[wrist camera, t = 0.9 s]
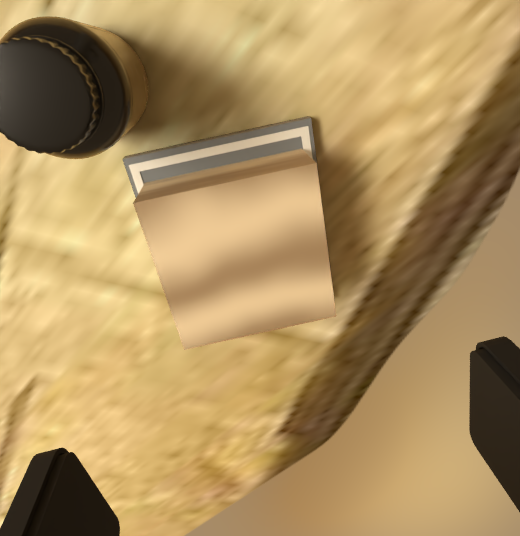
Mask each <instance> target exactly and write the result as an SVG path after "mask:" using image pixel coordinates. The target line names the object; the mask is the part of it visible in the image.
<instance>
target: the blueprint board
mask: <svg viewBox="0 0 520 536" xmlns="http://www.w3.org/2000/svg"><path fill="white" fill-rule="evenodd" d="M297 149H303V150H304V151H305V152H306V153H307V154H308V155H309V156H310V157H311V158H312V159H313V160H314V161H315V162H316V163H317V160H316V152H315V144H314V137H313V129H312V121H311V118H310V117H309V116H308V117H303V118H298V119H294V120H289V121H285V122H280V123H276V124H271V125H266V126H262V127H257V128H253V129H248V130H243V131H239V132H234V133H230V134H225V135H221V136H216V137H211V138H207V139H202V140H198V141H193V142H188V143H184V144H179V145H175V146H170V147H166V148H161V149H156V150H152V151H147V152H143V153H138V154H134V155H129V156H125V157H124V158H123V162H124V165H125V168H126V171H127V174H128V177H129V180H130V182H131V185H132V188H133V191H134V194H135V197H137V196H138V194H139V192H140V190H141V188H142V187H143V185H144V183H146V182H151V181H155V180H160V179H164V178H169V177H173V176H178V175H183V174H187V173H192V172H196V171H201V170H205V169H210V168H215V167H219V166H224V165H228V164H233V163H238V162H242V161H247V160H251V159H256V158H260V157H265V156H270V155H274V154H279V153H283V152H288V151H292V150H297ZM317 170H318V168H317ZM318 178H319V176H318ZM319 186H320V183H319ZM320 194H321V191H320ZM321 201H322V199H321ZM322 209H323V207H322ZM323 217H324V214H323ZM324 225H325V222H324ZM325 232H326V230H325ZM326 240H327V238H326ZM327 248H328V245H327ZM328 256H329V253H328ZM329 263H330V261H329ZM330 271H331V269H330ZM331 279H332V277H331ZM332 287H333V284H332ZM333 294H334V292H333ZM334 302H335V300H334Z"/></svg>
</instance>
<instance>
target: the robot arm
mask: <svg viewBox="0 0 520 536" xmlns="http://www.w3.org/2000/svg"><path fill="white" fill-rule="evenodd" d="M470 435H471V438H472V440H473V443H474V445H475V446H476V448H477V450H478V451H479V452H480V454H481V456H482V457H483V458H484V460H485V461H486V463H487V464H488V466H489V467H490V469H491V470H492V472H493V473H494V475H495V476H496V478H497V479H498V481H499V482H500V483H501V485H502V486H503V488H504V489H505V491H506V492H507V494H508V495H509V497H510V498H511V500H512V501H513V503H514V504H515V506H516V507H517V509H518V510H519V512H520V349H519V348H518V347H517V346H516V345H515V344H514V343H513V342H512V341H511V340H510V339H508V338H507V337H499V338H495V339H491V340H488V341H484V342H480V343H478V344H477V345H476V350H475V351H472V352H471V353H470ZM119 534H120V526H119V521H118V518H117V517H116V515H115V514H114V512H113V511H112V509H111V508H110V506H109V505H108V503H107V502H106V500H105V499H104V497H103V496H102V494H101V492H100V491H99V489H98V488H97V486H96V485H95V483H94V482H93V480H92V479H91V477H90V476H89V474H88V473H87V471H86V470H85V468H84V467H83V465H82V464H81V462H80V461H79V459H78V458H77V456H76V455H75V454H74V453H73V452H70V453H69V452H68V451H67V450H66V449H64V448H59V449H55V450H51V451H47V452H43V453H39V454H36V455H35V456H34V457H33V459H32V460H31V462H30V464H29V466H28V469H27V471H26V473H25V475H24V477H23V480H22V482H21V484H20V486H19V489H18V491H17V493H16V495H15V497H14V500H13V502H12V504H11V506H10V508H9V511H8V513H7V515H6V517H5V519H4V522H3V524H2V526H1V528H0V536H119Z"/></svg>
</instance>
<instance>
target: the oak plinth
mask: <svg viewBox="0 0 520 536" xmlns="http://www.w3.org/2000/svg"><path fill="white" fill-rule="evenodd" d="M133 204H134V207H135V210H136V212H137V215H138V218H139V221H140V224H141V227H142V230H143V232H144V235H145V238H146V241H147V244H148V247H149V250H150V253H151V255H152V258H153V261H154V264H155V267H156V270H157V273H158V275H159V278H160V281H161V284H162V287H163V290H164V293H165V296H166V298H167V301H168V304H169V307H170V310H171V313H172V316H173V318H174V321H175V324H176V327H177V330H178V333H179V336H180V339H181V341H182V344H183V347H184V350H185V349H190V348H194V347H199V346H203V345H208V344H213V343H217V342H222V341H226V340H231V339H235V338H240V337H244V336H249V335H253V334H258V333H262V332H267V331H271V330H276V329H280V328H285V327H290V326H294V325H299V324H303V323H308V322H312V321H317V320H321V319H326V318H330V317H335V316H336V310H335V302H334V294H333V287H332V279H331V271H330V263H329V256H328V248H327V240H326V232H325V225H324V217H323V209H322V201H321V194H320V186H319V178H318V170H317V163H316V162H315V161H314V160H313V159H312V158H311V157H310V156H309V155H308V154H307V153H306V152H305V151H304V150H303V149H297V150H292V151H288V152H283V153H279V154H274V155H270V156H265V157H260V158H256V159H251V160H247V161H242V162H238V163H233V164H228V165H224V166H219V167H215V168H210V169H205V170H201V171H196V172H192V173H187V174H183V175H178V176H173V177H169V178H164V179H160V180H155V181H151V182H146V183H144V185H143V187H142V188H141V190H140V192H139V194H138V196H137V197H136V199H135V201H134V203H133Z"/></svg>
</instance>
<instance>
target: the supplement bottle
mask: <svg viewBox="0 0 520 536" xmlns="http://www.w3.org/2000/svg"><path fill="white" fill-rule="evenodd" d="M148 94H149V87H148V79H147V75H146V72H145V69H144V66H143V64H142V62H141V60H140V58H139V57H138V55H137V54H136V52H135V51H134V50H133V49H132V48H131V47H130V46H129V45H128V44H127V43H126V42H125V41H124V40H123V39H121V38H120V37H119V36H117V35H115V34H113V33H111V32H109V31H107V30H104V29H102V28H98V27H95V26H91V25H88V24H84V23H81V22H77V21H73V20H70V19H66V18H60V17H37V18H32V19H28V20H26V21H23V22H21V23H19V24H17V25H16V26H14V27H13V28H12V29H10V30H9V31H8V32H7V33H6V34H5V35H4V36H3V38H2V39H1V40H0V132H1V133H3V134H4V135H5V136H6V137H7V139H8V140H11V141H14V142H15V143H16V144H17V145H18V146H21V147H25V148H26V149H27V150H29V151H36V152H38V153H47V154H49V155H52V156H56V157H60V158H67V159H83V158H89V157H92V156H95V155H98V154H100V153H102V152H104V151H106V150H107V149H109V148H110V147H112V146H113V145H114V144H115V143H116V142H117V141H118V140H120V139H121V138H122V137H123V136H124V135H125V134H126V133H127V132H128V131H129V130H130V129H131V128H132V127H133V126H134V125H135V124H136V123H137V122H138V120H139V119H140V118H141V116H142V114H143V113H144V110H145V108H146V105H147V101H148Z"/></svg>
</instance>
